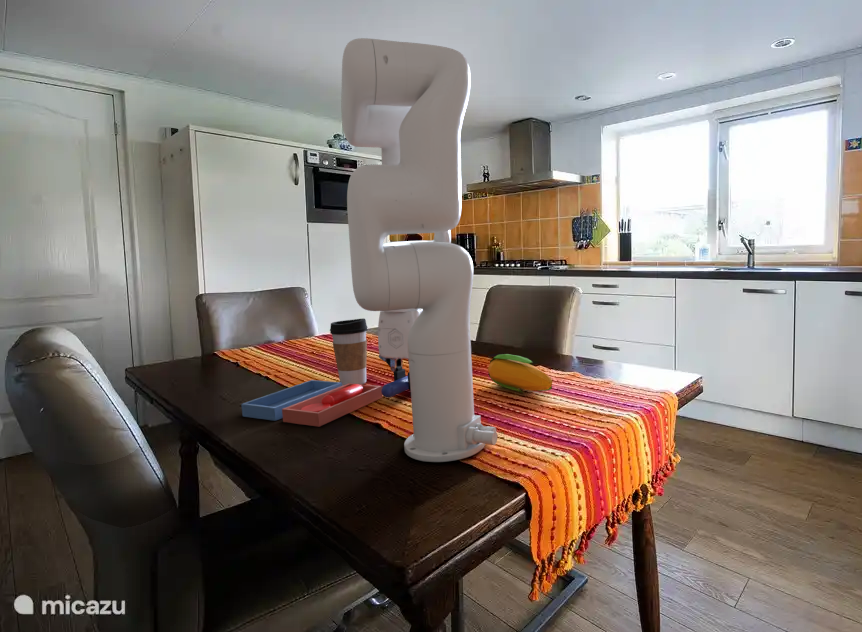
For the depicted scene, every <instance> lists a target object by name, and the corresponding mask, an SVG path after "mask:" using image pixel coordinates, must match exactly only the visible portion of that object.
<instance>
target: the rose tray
mask: <svg viewBox="0 0 862 632" xmlns="http://www.w3.org/2000/svg"><path fill="white" fill-rule="evenodd" d="M351 385H353V384H352V383H348V384H346V385H343V386H341V387H338V388H335V389H333V390H330V391H328V392H325V393H322V394H320V395H317V396H315V397H312V398H309V399H307V400H304V401H302V402H299V403H296V404H294V405H291V406H289V407H286V408H283V409H282V414H283V418H282V422H283V423H289V424H297V425H303V426H312V427H322V426H324V425H326V424H329V423H331V422H333V421H335V420H337V419H340V418H341V417H343V416H346V415H348V414H350V413H352V412H354V411H357V410H358V409H361V408H363V407H365V406H367V405H370V404H372V403H374V402H376V401H379V400H380V399H382V398H383V395H382V392H381V390H382V387H383V386H382V385H374V384H360V385H361V386H362V387H363V393H362V394H359V395H357V396H355V397H352V398H350V399H348V400H345V401H343V402H341V403H338V404H336V405H334V406H331V407H329V408H326V409H324V410H322V411H319V412H312V411H304V410H301V409H302V408H303V407H305V406H307V405H311V404H317V403H321V402H322V399H323V397H324V396H326V395H328V394H331V393H333V392H336V391H338V390H341V389H343V388H346V387H348V386H351Z"/></svg>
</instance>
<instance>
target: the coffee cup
mask: <svg viewBox="0 0 862 632" xmlns="http://www.w3.org/2000/svg"><path fill="white" fill-rule="evenodd" d="M368 330H369V329H368V325H367V321H366V318H353V319H345V320H338V321H333V322H330V329H329V334H331V337H332V348H333V353H334V359H335V363H336V368H337V373H338V379H339V382H341V383H342V386H343V385H346V384H348V383H352V384H363V385H365V383H367V362H368V361H367V354H368V339H367V332H368Z"/></svg>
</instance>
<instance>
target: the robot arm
mask: <svg viewBox="0 0 862 632" xmlns="http://www.w3.org/2000/svg"><path fill="white" fill-rule="evenodd" d="M471 80H472V79H471V69H470V65H469V62H468V60H467V58H466V57H465V55H464V54H463V53H462V52H460V51H459V50H456V49H454V48H450V47H447V46H442V45H436V44H428V43H419V42H409V41H397V40H388V39H387V40H386V39H379V38H367V37H366V38H363V37H361V38H360V37H359V38H354V39H352V40H350V41H349V42H347V43H346V46H345V47H344V50H343V54H342V61H341V92H340V95H341V96H340V98H341V99H340V113H341V114H340V115H341V125H342V130H343V135H344V137H345V139H346V141H347V143H348V144H349V145H351V146H353V147H355V148H375V149H376V148H378V149H381V164H380V163H379V164H376V163H375V164H365V165H360V166H358V167H357V168H355V169H354V170H353V172H352V173H351V174H350V177H349V180H348V184H347V192H346V204H347V205H346V208H347V224H348V225H347V226H348V239H349V253H350V270H351V271H350V272H351V281H352V290H353V294H354V298H355V300H356V303H357V304H358V306H359V307H361V309H363V310H365V311H369V312H379V318H378V325H377V346H378V358H379V359H380V360H382V361H383V362H385V363H386V364H387V366H388V367H389V368H390V372H392V373H393V381H396V380H398V379H401V378H403V377H405V376H408V384H409V389H408V391H409V392H410V397H411V398H410V399H411V400H410V402H411V416H412V431H413V434H410V436H408V437H407V438H406V439H405V440H404V443H403V449H404V453H405V454H406V455H407V456H408V457H409V458H411V459H413V460H416V461H420V462H425V463H426V462H427V463H448V462H454V461H459V460H463V459H466V458H469V457H472V456H474V455H476V454H478V453H479V452H481V451H482V450H483V449H484V448H485V446H486V445H491V446H496V444H497V442H498V432H497V427H496V426H490V425H489V426H488V425H487V426H484V425H483V424H482V419H481V418H482V417H481V415H477V414H475V401H474V400H475V399H474V382H473V379H474V378H473V361H472V339H471V302H472V293H473V286H474V285H473V284H474V272H475V271H474V263H473V259H472V257H471V255H470V253H469V252H468V251H467V250H466V249H465V248H464V247H463V246H461V245H459V244H455V243H453V242H452V232H451V231H452V230H453V229H455V228H456V227H457V226H458V225H459V223H460V219H461V215H462V158H461V157H462V156H461V155H462V153H461V152H462V151H461V133H462V127H463V122H464V117H465V113H466V111H467V110H466V109H467V107H468V103H469V99H470V94H471V85H472V84H471V83H472V81H471ZM415 234H417V235H418V234H434V235H433V239H432V240H408V241H407V240H405V241H388V242H384V241H385V239H386V238H387V237H388V236H391V235H415ZM404 360H408V371H409V372H407V375H406V368H403V367H404V366H403V365H404Z"/></svg>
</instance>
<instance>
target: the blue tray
mask: <svg viewBox="0 0 862 632" xmlns="http://www.w3.org/2000/svg"><path fill="white" fill-rule="evenodd" d="M341 386H342V383H341V382H340V381H328V380H316V379H310V380H307V381H304V382H301V383H298V384H296V385H293V386H290V387H287V388H284V389H281V390H278V391H275V392H272V393H270V394H266V395H264V396H261V397H258V398H254V399H252V400H249V401H246V402H243V403H240V405H241V406H240V407H241V415H242V417H245V418H253V419H259V420H265V421H266V420H267V421H274V422H276V421H279V420H281V419H283V414H282V409H283V408H286V407H289V406H291V405H294V404H296V403H299V402H302V401H304V400H307V399H309V398H312V397H315V396H317V395H320V394H322V393H325V392H328V391H330V390H333V389H335V388H338V387H341Z"/></svg>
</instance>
